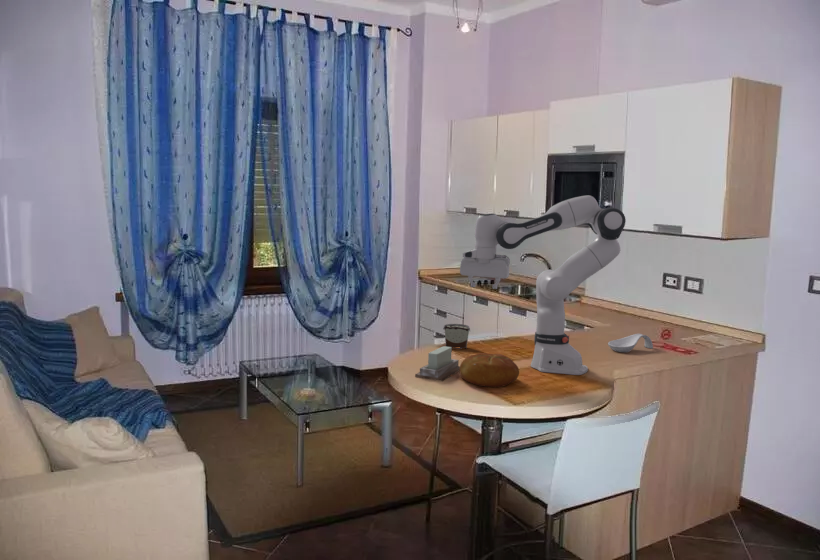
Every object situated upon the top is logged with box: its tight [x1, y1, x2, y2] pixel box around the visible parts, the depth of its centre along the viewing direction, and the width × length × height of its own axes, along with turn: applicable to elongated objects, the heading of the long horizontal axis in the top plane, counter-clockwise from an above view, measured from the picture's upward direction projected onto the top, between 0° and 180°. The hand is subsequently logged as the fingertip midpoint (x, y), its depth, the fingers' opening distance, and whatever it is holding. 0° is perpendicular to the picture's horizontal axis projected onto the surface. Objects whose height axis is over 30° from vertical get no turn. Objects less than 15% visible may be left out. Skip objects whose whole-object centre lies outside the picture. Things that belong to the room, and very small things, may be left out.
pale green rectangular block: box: [427, 345, 453, 370], centre depth 259 cm, size 4×14×8 cm, turn 154°
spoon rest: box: [607, 333, 654, 353], centre depth 309 cm, size 24×12×7 cm, turn 119°
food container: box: [443, 323, 471, 349], centre depth 306 cm, size 12×6×10 cm, turn 74°
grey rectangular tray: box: [414, 358, 460, 382], centre depth 259 cm, size 11×20×4 cm, turn 154°
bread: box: [459, 352, 520, 388], centre depth 250 cm, size 23×23×10 cm
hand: (483, 287), depth 273 cm, fingers open, 8 cm apart
